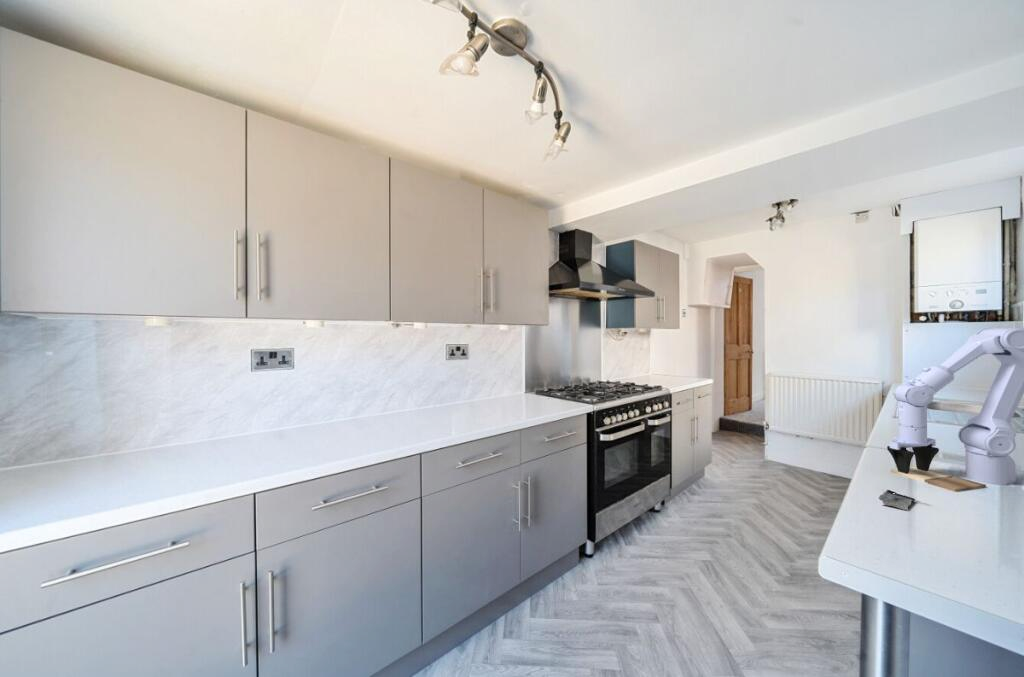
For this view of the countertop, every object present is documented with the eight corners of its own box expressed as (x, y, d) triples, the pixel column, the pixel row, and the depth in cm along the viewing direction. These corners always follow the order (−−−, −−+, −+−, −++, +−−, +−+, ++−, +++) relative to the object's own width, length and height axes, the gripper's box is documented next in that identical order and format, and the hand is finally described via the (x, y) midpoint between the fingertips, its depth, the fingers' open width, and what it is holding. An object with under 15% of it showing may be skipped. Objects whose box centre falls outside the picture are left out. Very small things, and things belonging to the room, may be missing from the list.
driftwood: (906, 514, 89) (906, 506, 89) (868, 503, 95) (868, 495, 95) (932, 495, 100) (932, 488, 100) (897, 486, 106) (897, 479, 106)
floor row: (913, 471, 114) (913, 464, 114) (985, 491, 99) (985, 484, 99) (885, 474, 112) (885, 468, 112) (955, 496, 97) (955, 489, 97)
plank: (917, 471, 113) (917, 466, 113) (952, 480, 106) (952, 475, 105) (890, 474, 111) (890, 469, 111) (924, 484, 103) (924, 479, 103)
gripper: (914, 420, 114) (914, 464, 115) (877, 424, 112) (877, 468, 112) (944, 426, 108) (945, 472, 108) (906, 430, 105) (906, 477, 105)
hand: (912, 471), depth 109 cm, fingers open, 7 cm apart
